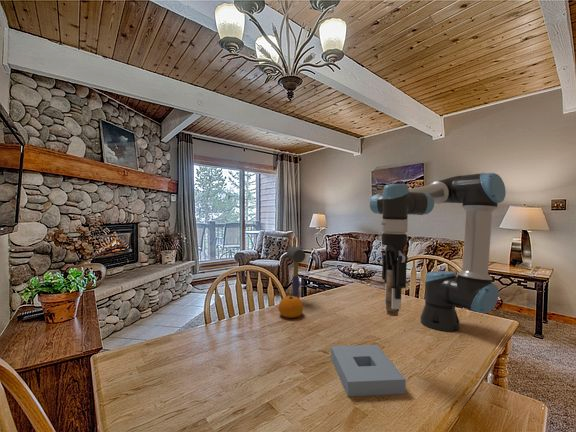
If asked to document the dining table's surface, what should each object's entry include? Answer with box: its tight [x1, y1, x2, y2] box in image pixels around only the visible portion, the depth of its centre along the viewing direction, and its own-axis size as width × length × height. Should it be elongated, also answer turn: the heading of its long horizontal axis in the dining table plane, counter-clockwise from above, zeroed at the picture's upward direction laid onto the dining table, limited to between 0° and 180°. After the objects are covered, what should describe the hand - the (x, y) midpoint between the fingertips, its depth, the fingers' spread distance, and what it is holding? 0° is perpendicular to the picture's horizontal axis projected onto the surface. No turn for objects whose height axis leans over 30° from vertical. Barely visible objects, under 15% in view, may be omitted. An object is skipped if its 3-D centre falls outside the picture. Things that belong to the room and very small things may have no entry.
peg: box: [385, 269, 400, 317], centre depth 92 cm, size 4×4×14 cm
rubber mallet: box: [286, 246, 306, 299], centre depth 153 cm, size 12×8×30 cm, turn 16°
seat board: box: [330, 344, 407, 397], centre depth 88 cm, size 16×20×4 cm
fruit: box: [278, 294, 304, 319], centre depth 136 cm, size 12×12×10 cm
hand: (392, 305), depth 92 cm, fingers closed on peg, 4 cm apart
